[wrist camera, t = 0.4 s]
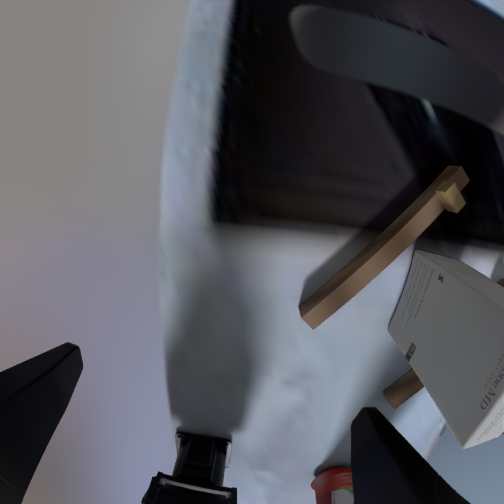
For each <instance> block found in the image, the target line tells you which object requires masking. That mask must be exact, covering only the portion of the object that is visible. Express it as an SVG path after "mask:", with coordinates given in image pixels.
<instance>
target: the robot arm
mask: <svg viewBox="0 0 504 504" xmlns="http://www.w3.org/2000/svg"><path fill="white" fill-rule="evenodd" d="M82 370H83V361H82V356H81V351H80V348H79V346H77V345H75V344H72V343H69V342H67V343H64V344H62V345H60V346H58V347H56V348H53V349H51V350H49V351H47V352H44V353H42V354H40V355H38V356H35V357H33V358H31V359H29V360H27V361H24V362H22V363H20V364H18V365H15V366H13V367H11V368H9V369H6V370H4V371H2V372H0V504H21V503H22V501H23V497H24V495H25V493H26V491H27V488H28V486H29V484H30V481H31V479H32V477H33V475H34V472H35V470H36V468H37V466H38V464H39V462H40V460H41V457H42V455H43V453H44V451H45V449H46V447H47V445H48V443H49V441H50V439H51V437H52V435H53V433H54V431H55V429H56V427H57V425H58V424H59V422H60V420H61V418H62V416H63V414H64V412H65V410H66V408H67V406H68V404H69V401H70V399H71V396H72V394H73V392H74V389H75V387H76V384H77V382H78V379H79V377H80V375H81V372H82ZM175 438H176V448H177V459H176V463H175V466H174V470H173V474H172V476H170V475H167V474H163V473H162V472H159V471H158V474H157V476H155V477H152V480H151V483H150V486H149V488H148V490H147V492H146V494H145V495H144V497H143V499H142V501H141V503H142V504H237V488H233V487H232V488H228V487H223V479H224V471H225V469H227V468H228V466H229V458H230V450H231V440H228V439H221V438H214V437H207V436H201V435H195V434H189V433H184V432H176V435H175ZM351 474H352V484H353V496H354V504H470V503H469V502H468V501H467V500H466V499H464V498H463V497H462V496H461V495H460V494H459V493H457V492H456V491H455V490H454V489H453V488H452V487H451V486H450V485H449V484H448V483H447V482H446V481H445V480H444V479H443V478H442V477H441V476H440V475H439V474H438V473H437V472H436V471H435V470H434V469H433V468H432V467H431V466H430V464H429V463H428V462H427V461H426V460H425V459H424V458H423V457H422V456H421V455H420V454H419V453H418V452H417V451H416V450H415V449H414V448H413V447H412V445H411V444H410V443H409V442H408V441H407V440H406V439H405V438H404V437H403V436H402V435H401V434H400V433H399V432H398V431H397V430H396V428H395V427H394V426H393V425H392V424H391V423H390V422H389V421H388V420H387V419H386V418H385V417H384V416H383V414H382V413H381V412H380V411H379V410H378V409H377V408H375V407H363V408H362V409H361V410H360V412H359V413H358V415H357V416H356V417H355V419H354V420H353V422H352V425H351Z"/></svg>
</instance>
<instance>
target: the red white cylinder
mask: <svg viewBox="0 0 504 504" xmlns="http://www.w3.org/2000/svg"><path fill="white" fill-rule="evenodd" d="M311 487H312V488H313V489H314V490H315V495H316V504H354V496H353V484H352V474H351V468H348V467H344V466H338V467H332V468H329V469H327V470H324V471H323V472H321V473H320V474H319V475H318V476H317V477H316V478H315V479H314V480H313V482H312V483H311Z"/></svg>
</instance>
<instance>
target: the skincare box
mask: <svg viewBox="0 0 504 504" xmlns="http://www.w3.org/2000/svg"><path fill="white" fill-rule="evenodd" d="M388 333H389V334H390V336H391V337H392V338H393V340H394V341H395V343H396V344H397V346H398V347H399V349H400V350H401V352H402V353H403V355H404V356H405V358H406V359H407V361H408V362H409V364H410V365H411V366H412V368H413V370H414V371H415V373H416V374H417V376H418V377H419V379H420V380H421V382H422V383H423V385H424V386H425V388H426V390H427V391H428V393H429V394H430V396H431V398H432V399H433V401H434V402H435V404H436V406H437V407H438V409H439V410H440V412H441V414H442V415H443V417H444V419H445V420H446V422H447V424H448V426H449V427H450V429H451V431H452V432H453V434H454V436H455V437H456V439H457V441H458V443H459V444H460V446H461V448H462V449H465V448H468V447H472V446H475V445H478V444H480V443H483V442H486V441H488V440H491V439H493V438H496V437H498V436H500V435H503V434H504V287H502V286H501V285H499V284H498V283H496V282H494V281H493V280H491V279H490V278H488V277H487V276H485V275H483V274H482V273H480V272H478V271H477V270H475V269H474V268H472V267H470V266H469V265H467V264H465V263H464V262H462V261H460V260H457V259H453V258H449V257H446V256H441V255H437V254H433V253H429V252H425V251H420V250H415V251H414V256H413V260H412V265H411V269H410V272H409V275H408V278H407V282H406V285H405V288H404V290H403V293H402V296H401V299H400V301H399V304H398V306H397V309H396V311H395V313H394V316H393V318H392V320H391V322H390V324H389V326H388Z"/></svg>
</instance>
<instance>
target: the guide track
mask: <svg viewBox="0 0 504 504" xmlns="http://www.w3.org/2000/svg"><path fill="white" fill-rule="evenodd" d="M469 181H470V180H469V179H468V177H467V175H466V173H465V171H464V170H463V168H462V166H448V167H447V168H446V169H445V170H444V171H443V172H442V173H441V174H440V175H439V176H438V177H437V178H436V179H435V180H434V181H433V183H432V184H431V185H430V186H429V187H428V188H427V189H426V190H425V191H424V192H423V193H422V194H421V195H420V196H419V197H418V198H417V199H416V200H415V201H414V202H413V203H412V204H411V205H410V206H409V207H408V208H407V209H406V210H405V211H404V212H403V213H402V214H401V215H400V216H399V217H398V218H397V219H396V220H395V221H394V222H393V223H392V224H391V225H390V226H389V227H387V228H386V229H385V230H384V231H383V232H382V233H381V234H380V235H379V236H378V237H377V238H376V239H375V240H374V241H373V242H372V243H371V244H369V245H368V246H367V247H366V248H365V249H364V250H363V251H362V252H361V253H360V254H359V255H357V256H356V257H355V258H354V259H353V260H352V261H351V262H350V263H349V264H347V265H346V266H345V267H344V268H343V269H342V270H341V271H340V272H338V273H337V274H336V275H335V276H334V277H333V278H332V279H330V280H329V281H328V282H327V283H326V284H325V285H323V286H322V287H321V288H320V289H319V290H318V291H316V292H315V293H314V294H313V295H312V296H310V297H309V298H308V299H307V300H306V301H304V302H303V303H302V304H301V305H300V306H298V307H299V311H300V315H301V318H302V319H303V320H304V321H305V322H306V323H307V324H308V325H309V326H310V327H311V328H312V329H313V330H314V329H315V328H316V327H317V326H319V325H320V324H321V323H322V322H324V321H325V320H326V319H327V318H329V317H330V316H331V315H332V314H333V313H335V312H336V311H337V310H338V309H339V308H341V307H342V306H343V305H344V304H345V303H347V302H348V301H349V300H350V299H351V298H352V297H354V296H355V295H356V294H357V293H358V292H359V291H361V290H362V289H363V288H364V287H365V286H366V285H367V284H368V283H370V282H371V281H372V280H373V279H374V278H375V277H376V276H377V275H378V274H380V273H381V272H382V271H383V270H384V269H385V268H386V267H387V266H388V265H389V264H390V263H391V262H393V261H394V260H395V259H396V258H397V257H398V256H399V255H400V254H401V253H402V252H403V251H404V250H405V249H406V248H407V247H408V246H409V245H410V244H411V243H412V242H413V241H414V240H415V239H416V238H417V237H418V236H419V235H420V234H421V233H422V232H423V231H424V230H425V229H426V228H427V227H428V226H429V225H430V224H431V223H432V222H433V221H434V220H435V219H436V218H437V217H438V216H439V214H440V213H441V212H442V211H443V210H444V209H445V208H446V210H447V211H451V212H454V213H458V212H459V211H460V210H461V209H462V207H463V206H464V205H465V204H466V202H465V201H464V199H463V197H462V195H461V193H460V191H461V190H462V189H463V188H464V187H465V186H466V184H467V183H468V182H469ZM498 284H499V285H501V286H502V287H504V279H501V280H500V281H499V283H498ZM423 387H424V385H423V383H422V382H421V380H420V379H419V377H418V376H417V374H416V373H415V371H414V370H413V368H412V369H411V370H410V371H409V372H407V373H406V374H405V375H404V376H402V377H401V378H400V379H399V380H397V381H396V382H395V383H393V384H392V385H391V386H389V387H388V388H387V389H385V390H384V391H383V393H384V395H385V397H386V399H387V401H388V403H389V404H390V405H391V406H392V407H393V408H394V409H395V408H397V407H398V406H399V405H401V404H402V403H404V402H405V401H406V400H408V399H409V398H410V397H412V396H413V395H414V394H415V393H417V392H418V391H419V390H420V389H422V388H423Z"/></svg>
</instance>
